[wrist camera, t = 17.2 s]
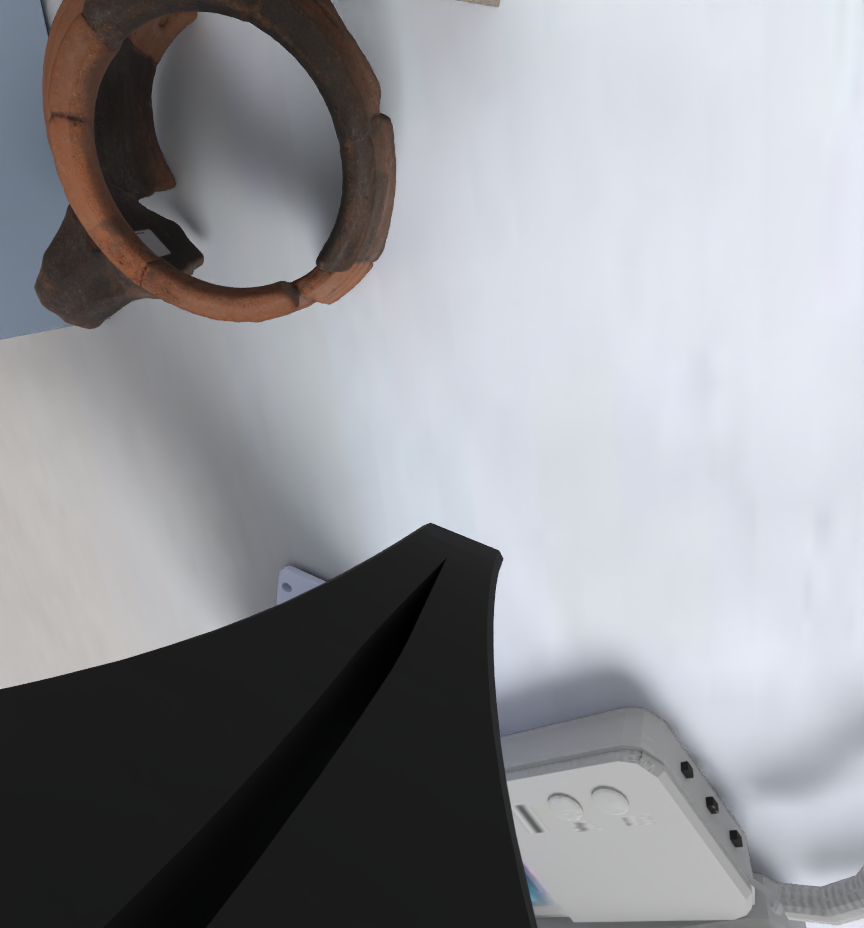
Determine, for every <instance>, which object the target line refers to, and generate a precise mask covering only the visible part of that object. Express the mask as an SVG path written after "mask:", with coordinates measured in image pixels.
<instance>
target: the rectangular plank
mask: <svg viewBox="0 0 864 928" xmlns="http://www.w3.org/2000/svg"><path fill="white" fill-rule="evenodd" d="M47 41H48V34H47V30H46V25H45V21H44V16H43V12H42V7H41V3H40V0H0V340H1V339H6V338H11V337H16V336H21V335H27V334H32V333H37V332H42V331H47V330H53V329H58V328H63V327H68V326H73V325H71V324H68V323H66V322H64V321H63V320H62V319H61V318H60V317H59V316H58V315H56V314H55V313H53V312H51V311H49V310H48V309H46V308H45V307H44V306H43V305H42V304H41V302H40V300H39V298H38V296H37V294H36V291H35V289H34V286H35V283H36V280H37V277H38V274H39V272H40V269H41V265H42V259H43V255H44V253H45V251H46V249H47V248H48V246H49V245H50V243H51V242H52V240H53V238H54V237H55V235H56V233H57V232H58V230H59V228H60V226H61V224H62V221H63V219H64V217H65V215H66V210H67V207H68V205H69V202H68V199H67V197H66V195H65V193H64V189H63V186H62V184H61V182H60V180H59V176H58V174H57V171H56V167H55V162H54V157H53V154H52V151H51V149H50V145H49V143H48V139H47V131H46V125H45V120H44V113H43V98H42V78H43V63H44V55H45V50H46V45H47ZM107 319H110V317H109V318H107Z"/></svg>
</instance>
